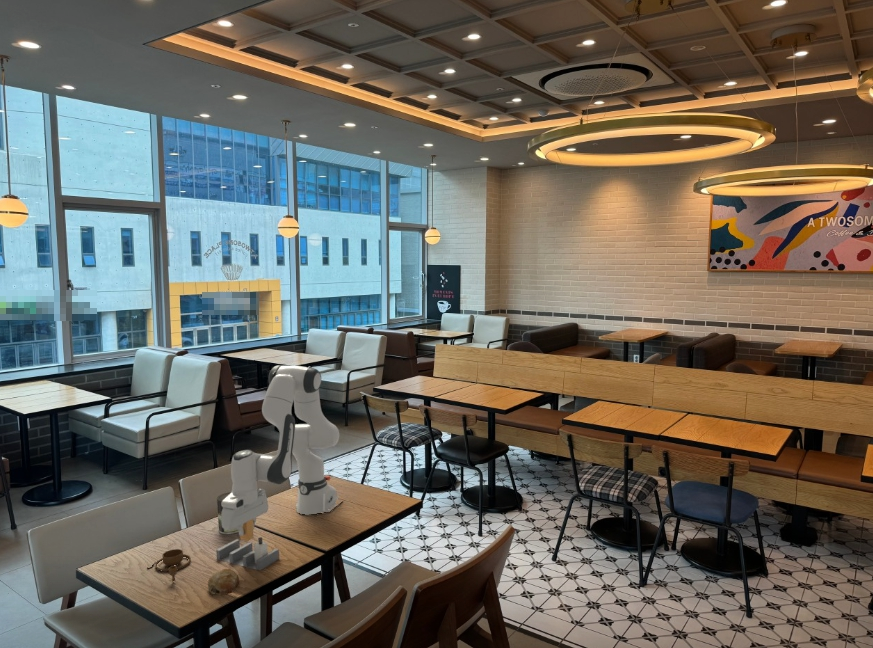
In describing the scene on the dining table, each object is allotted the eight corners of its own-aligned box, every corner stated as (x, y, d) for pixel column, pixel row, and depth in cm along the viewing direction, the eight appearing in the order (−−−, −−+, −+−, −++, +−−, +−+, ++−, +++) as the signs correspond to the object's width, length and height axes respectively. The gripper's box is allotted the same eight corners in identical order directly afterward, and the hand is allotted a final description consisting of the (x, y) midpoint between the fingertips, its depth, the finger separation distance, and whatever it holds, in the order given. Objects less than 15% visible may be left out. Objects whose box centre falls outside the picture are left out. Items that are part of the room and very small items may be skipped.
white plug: (260, 559, 224) (259, 535, 223) (267, 561, 222) (266, 537, 222) (254, 562, 221) (253, 538, 220) (262, 564, 220) (261, 540, 219)
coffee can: (213, 533, 250) (211, 499, 249) (228, 523, 260) (226, 491, 259) (234, 535, 248) (233, 501, 246) (249, 525, 258) (247, 492, 256)
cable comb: (237, 550, 234) (236, 539, 234) (279, 561, 224) (278, 549, 224) (216, 561, 225) (216, 549, 225) (260, 573, 216) (259, 560, 215)
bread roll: (206, 602, 204) (199, 586, 200) (218, 576, 213) (212, 560, 209) (234, 603, 203) (228, 588, 199) (245, 577, 211) (240, 561, 207)
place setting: (204, 559, 229) (203, 543, 228) (177, 586, 209) (176, 569, 208) (160, 558, 230) (159, 542, 230) (128, 584, 210) (127, 568, 210)
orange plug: (246, 536, 226) (245, 512, 225) (253, 537, 224) (252, 514, 224) (240, 539, 223) (239, 515, 223) (247, 541, 222) (246, 516, 221)
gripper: (258, 485, 233) (260, 520, 234) (217, 503, 215) (219, 541, 216) (271, 487, 230) (272, 523, 231) (230, 506, 212) (232, 544, 213)
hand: (246, 532), depth 224 cm, fingers closed on orange plug, 3 cm apart
